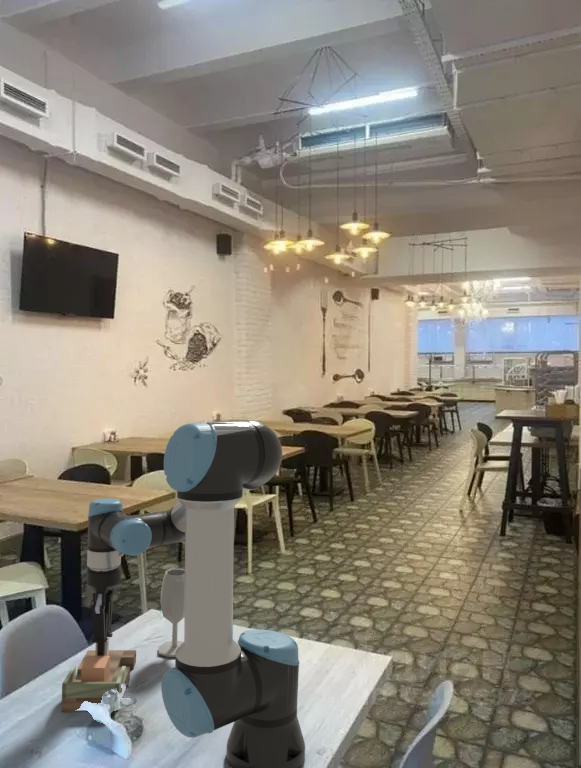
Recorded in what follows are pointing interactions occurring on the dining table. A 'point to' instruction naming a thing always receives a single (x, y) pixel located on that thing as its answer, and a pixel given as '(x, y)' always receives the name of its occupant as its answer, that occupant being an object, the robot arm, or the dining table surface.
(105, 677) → the block
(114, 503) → the robot arm
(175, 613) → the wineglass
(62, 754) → the dining table surface
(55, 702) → the dining table surface
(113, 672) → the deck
